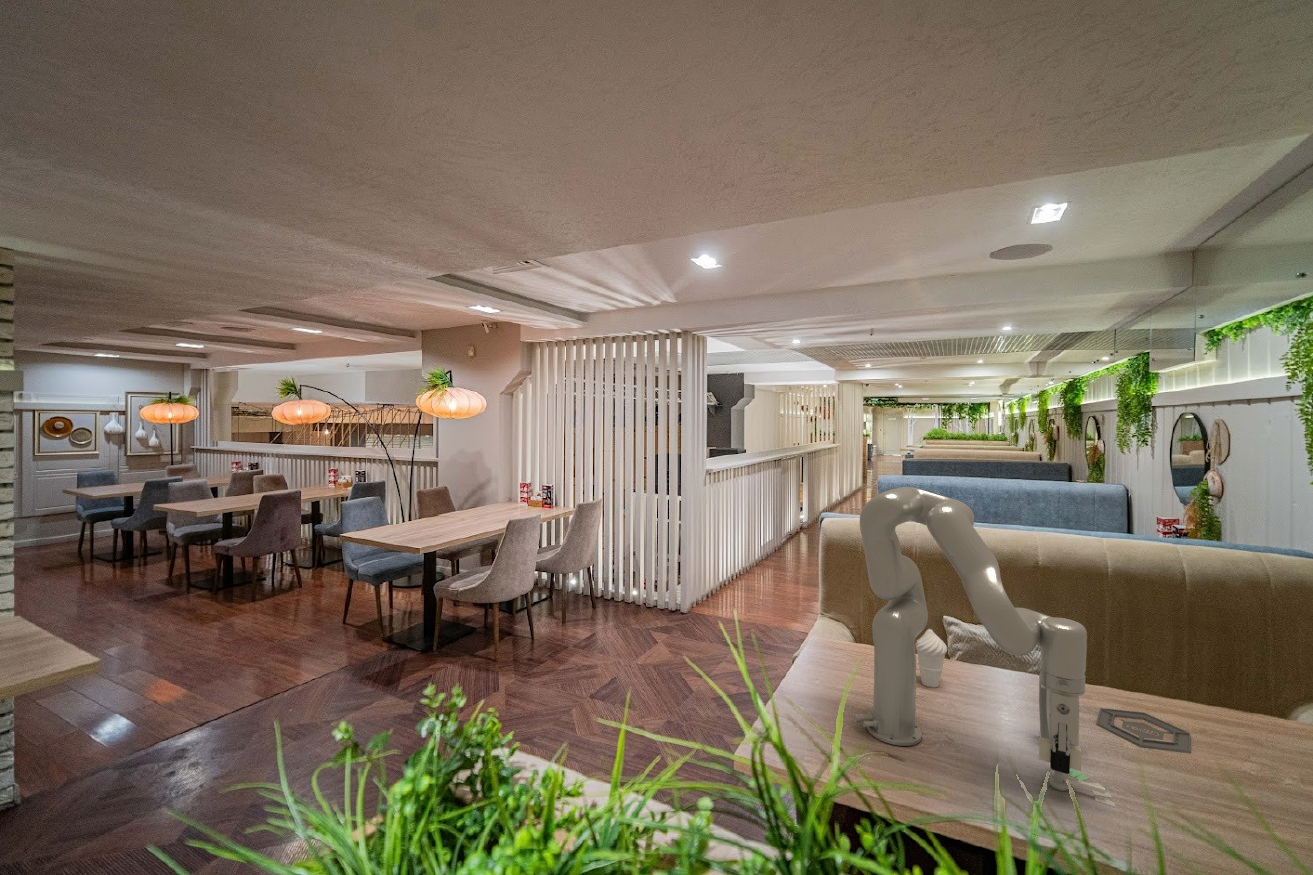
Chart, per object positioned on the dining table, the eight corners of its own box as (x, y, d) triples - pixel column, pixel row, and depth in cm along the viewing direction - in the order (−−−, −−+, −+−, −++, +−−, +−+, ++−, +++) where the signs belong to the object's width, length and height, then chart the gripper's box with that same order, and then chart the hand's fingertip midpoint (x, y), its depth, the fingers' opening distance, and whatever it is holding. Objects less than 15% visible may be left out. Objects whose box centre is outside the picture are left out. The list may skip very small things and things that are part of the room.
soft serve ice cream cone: (951, 691, 159) (953, 635, 158) (922, 691, 159) (923, 635, 158) (937, 677, 167) (938, 624, 167) (909, 677, 167) (910, 624, 167)
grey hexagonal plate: (1093, 733, 138) (1093, 730, 138) (1102, 704, 153) (1102, 700, 153) (1190, 763, 127) (1190, 760, 127) (1189, 728, 141) (1190, 725, 141)
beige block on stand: (1038, 784, 117) (1039, 742, 116) (1038, 775, 119) (1039, 734, 119) (1105, 804, 111) (1107, 760, 110) (1103, 794, 114) (1105, 752, 113)
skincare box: (1076, 763, 126) (1079, 694, 126) (1038, 753, 130) (1040, 686, 129) (1072, 744, 133) (1075, 679, 133) (1036, 735, 137) (1038, 671, 137)
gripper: (1089, 701, 107) (1085, 796, 107) (1081, 670, 120) (1078, 754, 121) (1041, 691, 111) (1038, 782, 111) (1038, 661, 124) (1036, 743, 125)
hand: (1059, 766), depth 116 cm, fingers closed
